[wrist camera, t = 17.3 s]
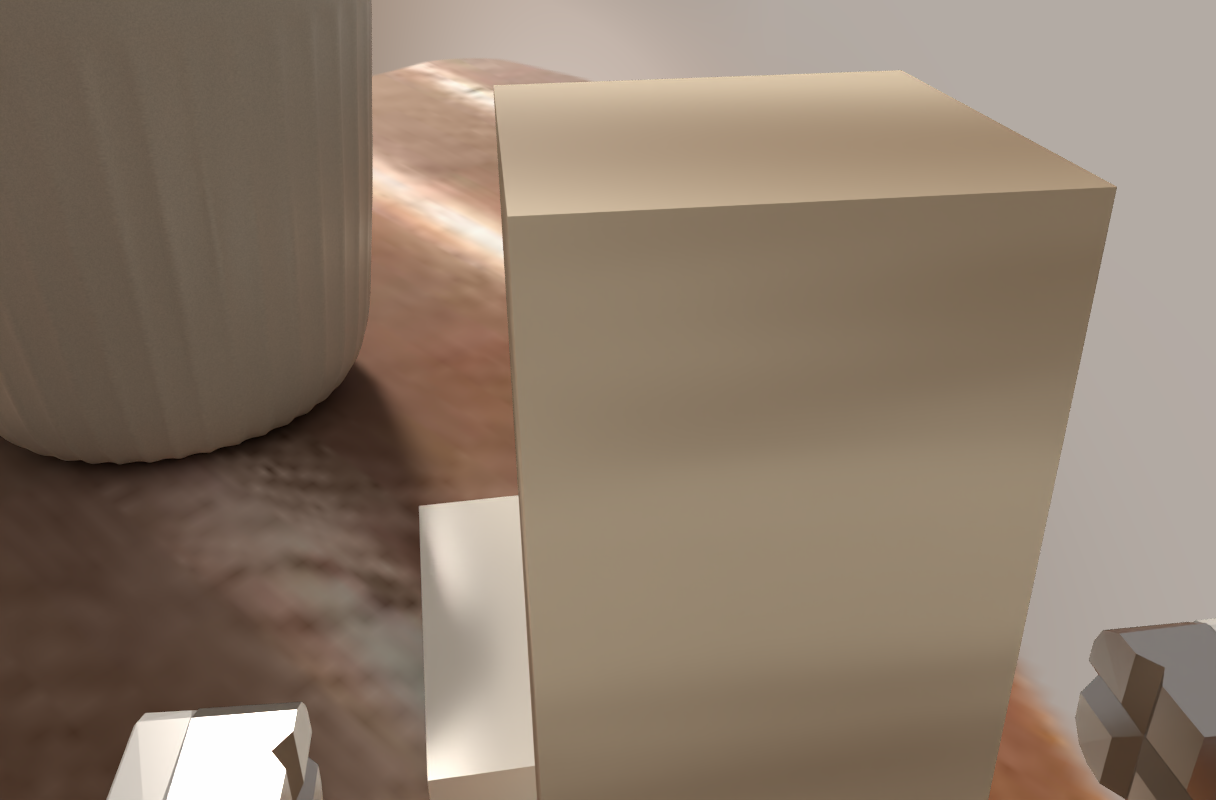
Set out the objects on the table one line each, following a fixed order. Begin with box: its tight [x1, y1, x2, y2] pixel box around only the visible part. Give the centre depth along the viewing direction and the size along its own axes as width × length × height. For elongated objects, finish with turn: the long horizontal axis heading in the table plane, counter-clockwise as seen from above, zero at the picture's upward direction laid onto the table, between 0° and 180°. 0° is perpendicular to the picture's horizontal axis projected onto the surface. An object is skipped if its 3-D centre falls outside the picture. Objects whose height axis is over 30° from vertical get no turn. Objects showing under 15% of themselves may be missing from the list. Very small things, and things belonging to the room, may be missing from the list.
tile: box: [419, 496, 537, 800], centre depth 27 cm, size 2×8×10 cm
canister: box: [0, 0, 372, 465], centre depth 34 cm, size 18×18×21 cm
